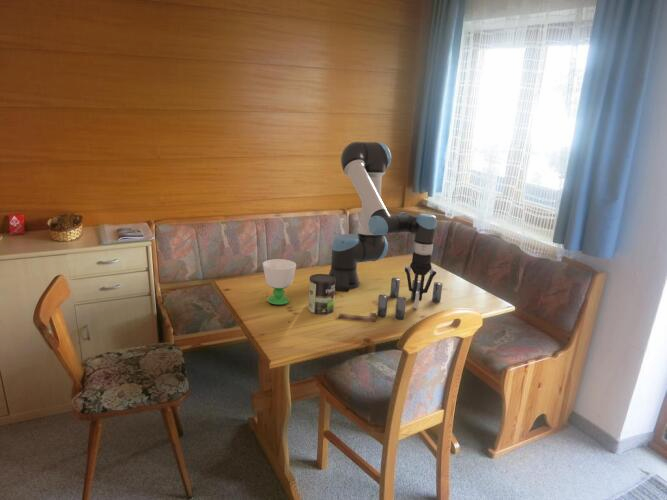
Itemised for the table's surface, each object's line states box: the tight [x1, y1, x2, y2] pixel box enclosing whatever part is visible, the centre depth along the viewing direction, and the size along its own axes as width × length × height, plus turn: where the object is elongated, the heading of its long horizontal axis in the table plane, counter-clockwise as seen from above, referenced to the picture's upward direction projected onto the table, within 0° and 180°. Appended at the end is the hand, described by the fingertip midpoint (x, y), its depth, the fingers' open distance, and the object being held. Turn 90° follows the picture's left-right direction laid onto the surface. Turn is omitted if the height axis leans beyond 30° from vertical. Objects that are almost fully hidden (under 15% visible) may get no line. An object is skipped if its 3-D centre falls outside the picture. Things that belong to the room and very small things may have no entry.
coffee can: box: [307, 273, 336, 316], centre depth 190 cm, size 10×10×14 cm
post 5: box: [431, 281, 444, 304], centre depth 208 cm, size 4×4×9 cm
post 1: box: [376, 294, 389, 319], centre depth 189 cm, size 4×4×9 cm
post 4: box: [410, 279, 421, 300], centre depth 209 cm, size 4×4×9 cm
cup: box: [262, 258, 297, 305], centre depth 199 cm, size 14×14×16 cm
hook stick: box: [338, 312, 377, 323], centre depth 187 cm, size 14×6×2 cm, turn 84°
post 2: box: [389, 276, 401, 299], centre depth 210 cm, size 4×4×9 cm
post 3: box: [394, 296, 407, 321], centre depth 188 cm, size 4×4×9 cm
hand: (415, 307), depth 200 cm, fingers closed
